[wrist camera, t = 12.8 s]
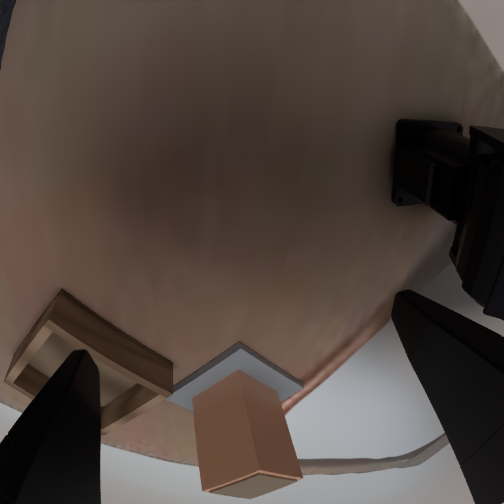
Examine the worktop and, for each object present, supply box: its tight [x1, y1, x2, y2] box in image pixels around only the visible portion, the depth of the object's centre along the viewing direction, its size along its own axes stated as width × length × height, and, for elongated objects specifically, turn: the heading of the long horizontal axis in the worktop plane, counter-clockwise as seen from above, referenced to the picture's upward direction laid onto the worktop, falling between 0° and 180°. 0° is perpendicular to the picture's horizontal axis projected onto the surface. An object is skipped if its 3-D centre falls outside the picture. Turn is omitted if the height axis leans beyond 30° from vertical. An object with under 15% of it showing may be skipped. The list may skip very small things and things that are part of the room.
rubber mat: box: [166, 342, 304, 412], centre depth 30 cm, size 10×10×1 cm
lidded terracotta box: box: [193, 370, 303, 499], centre depth 25 cm, size 6×6×10 cm
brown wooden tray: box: [4, 289, 173, 435], centre depth 24 cm, size 12×12×4 cm
